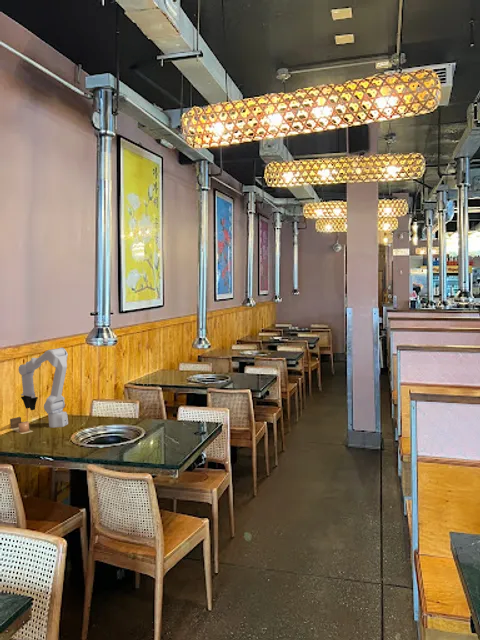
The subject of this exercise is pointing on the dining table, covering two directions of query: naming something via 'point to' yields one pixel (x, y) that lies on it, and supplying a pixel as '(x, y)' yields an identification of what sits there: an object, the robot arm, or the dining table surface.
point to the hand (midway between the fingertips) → (30, 409)
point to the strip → (15, 425)
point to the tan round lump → (23, 426)
